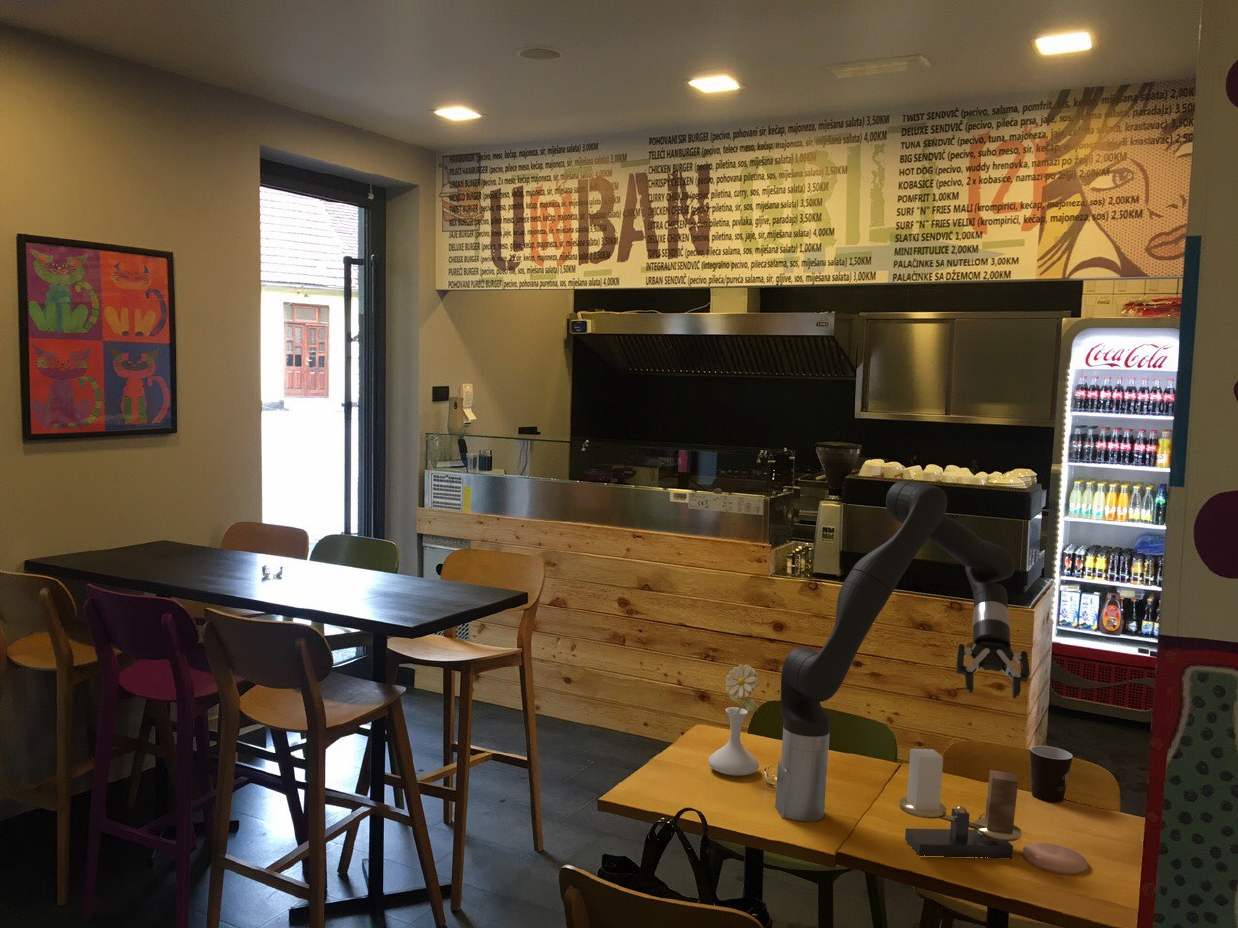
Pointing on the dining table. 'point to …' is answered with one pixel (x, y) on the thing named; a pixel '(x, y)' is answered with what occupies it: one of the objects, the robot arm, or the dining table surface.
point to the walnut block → (1001, 801)
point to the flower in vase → (737, 725)
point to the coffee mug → (1049, 772)
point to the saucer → (1055, 858)
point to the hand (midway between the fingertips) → (993, 693)
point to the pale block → (924, 779)
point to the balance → (957, 835)
